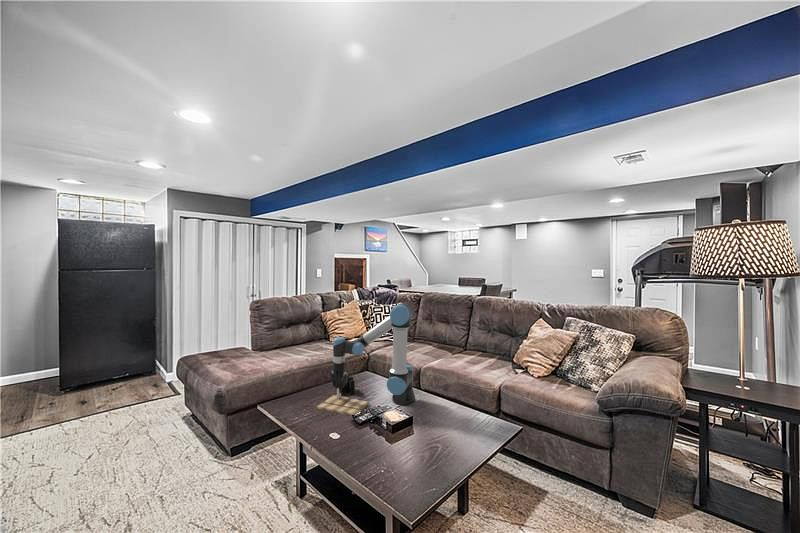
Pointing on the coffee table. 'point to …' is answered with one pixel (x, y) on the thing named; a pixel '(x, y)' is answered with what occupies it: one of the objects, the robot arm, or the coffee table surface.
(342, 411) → the oak row
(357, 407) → the plank
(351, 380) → the camera
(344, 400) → the plank
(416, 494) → the coffee table surface
